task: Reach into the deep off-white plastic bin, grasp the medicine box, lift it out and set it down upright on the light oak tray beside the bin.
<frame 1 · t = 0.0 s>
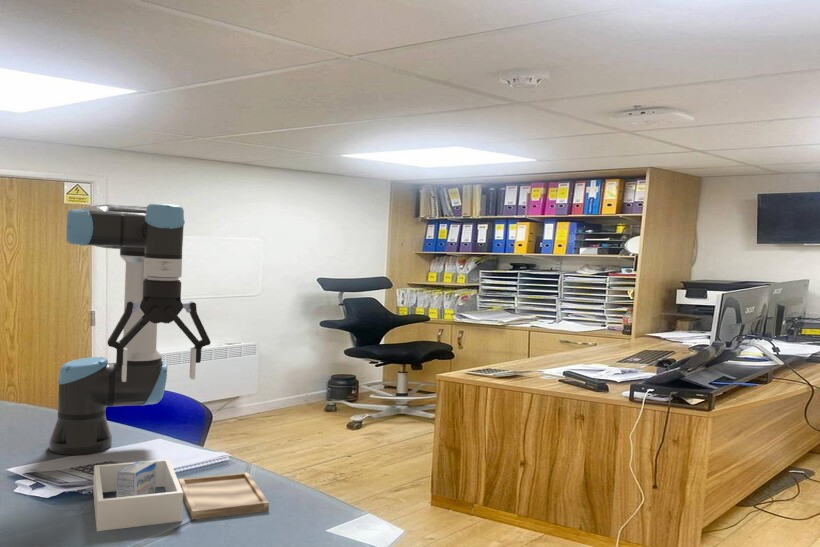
hand: (158, 379, 148), 28 cm above the table, fingers open, 13 cm apart
oak tray: (221, 498, 158), on the table
medicine box: (135, 507, 151), resting in deep bin
deep bin: (135, 505, 151), on the table
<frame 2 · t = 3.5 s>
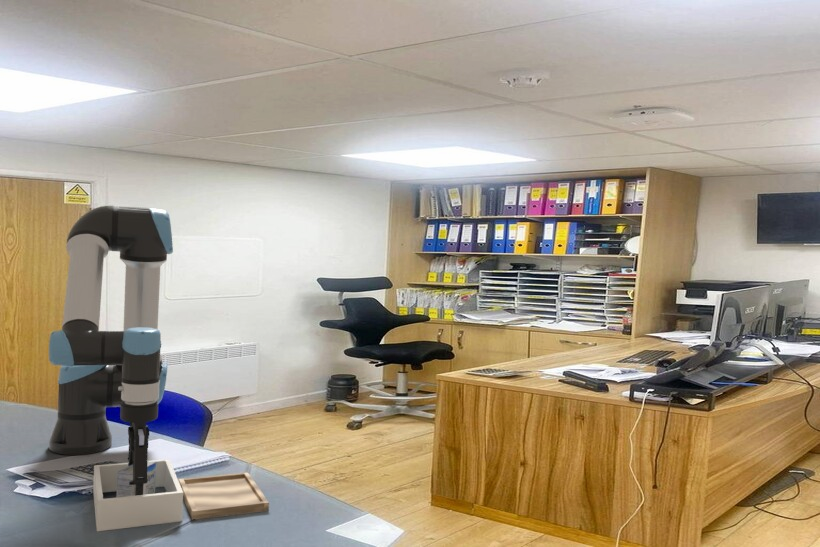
hand: (135, 505, 151), 0 cm above the table, fingers closed on medicine box, 9 cm apart
medicine box: (135, 507, 151), resting in deep bin, touching gripper
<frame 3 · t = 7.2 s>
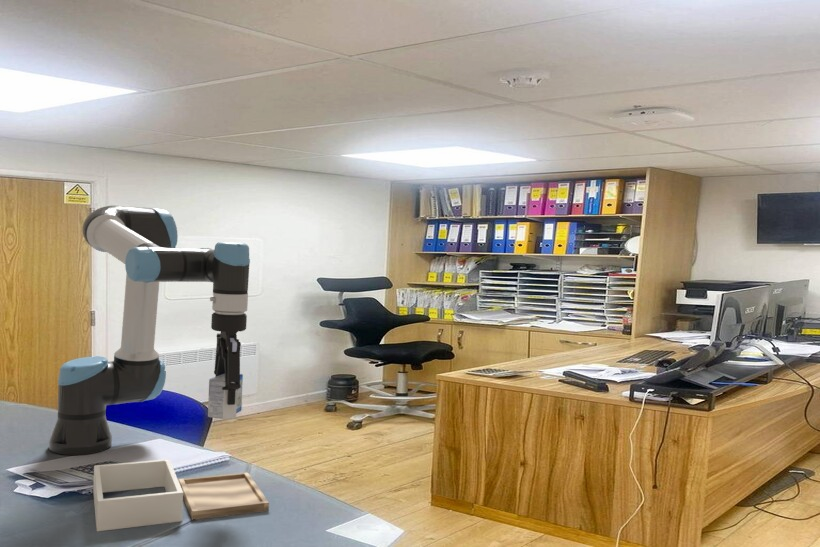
hand: (225, 413, 157), 19 cm above the table, fingers closed on medicine box, 9 cm apart
medicine box: (224, 415, 157), point 19 cm above the table, touching gripper
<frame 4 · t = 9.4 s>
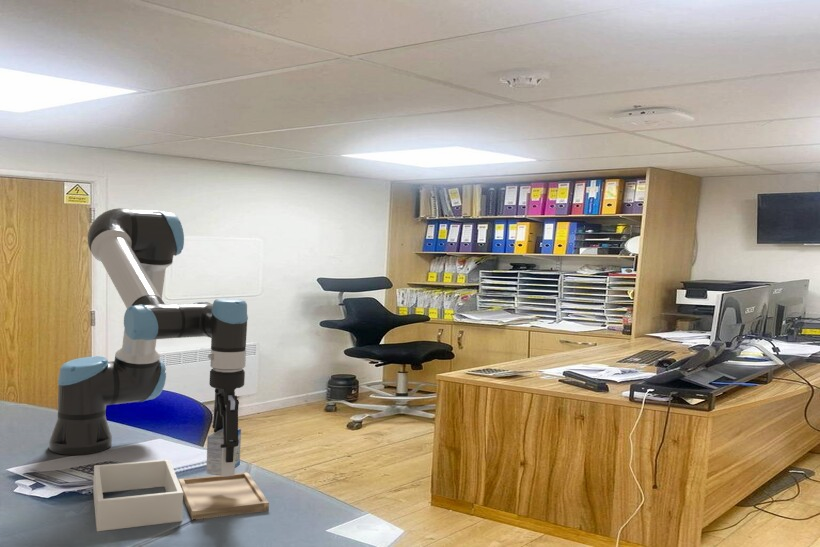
hand: (223, 468, 158), 7 cm above the table, fingers closed on medicine box, 9 cm apart
medicine box: (223, 470, 158), point 6 cm above the table, touching gripper
when the fingers open (2 cm above the table, at t = 10.8 s): medicine box drops 1 cm, resting on oak tray.
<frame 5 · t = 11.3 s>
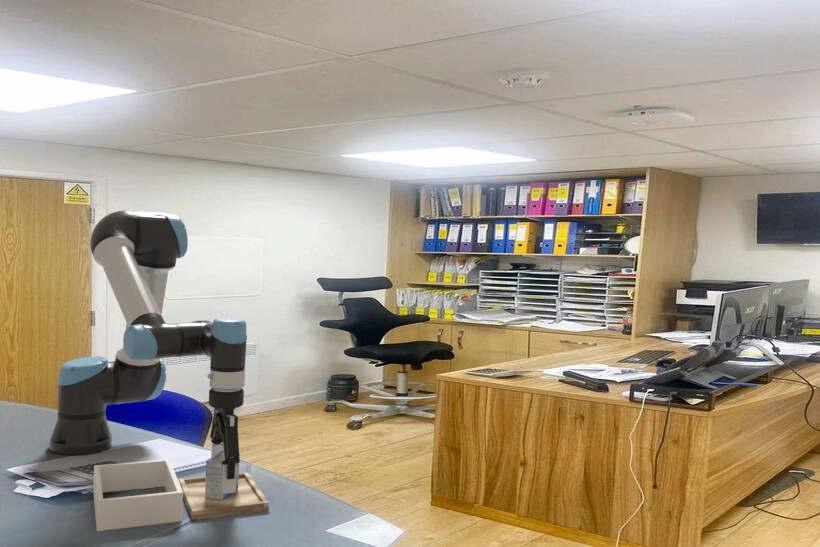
hand: (222, 482, 158), 4 cm above the table, fingers open, 13 cm apart
medicine box: (221, 494, 158), point 1 cm above the table, touching oak tray
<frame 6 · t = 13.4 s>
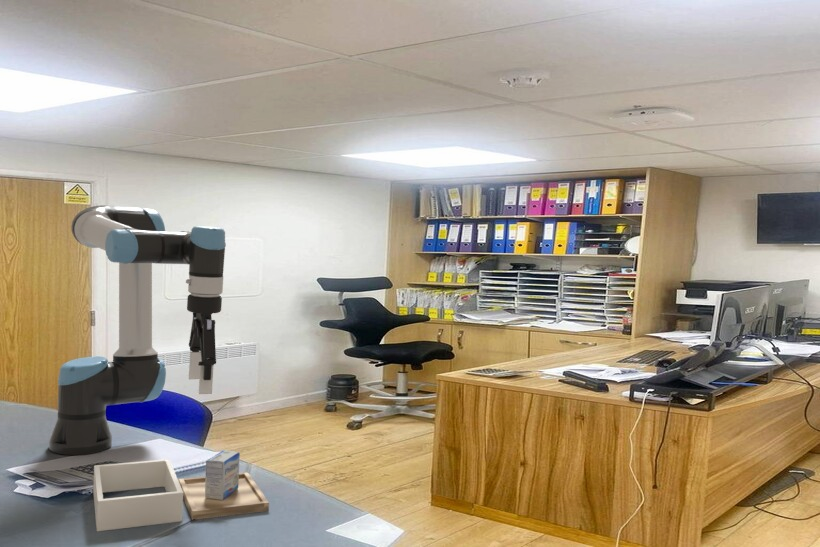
hand: (199, 386, 162), 24 cm above the table, fingers open, 13 cm apart
nothing on the table moved.
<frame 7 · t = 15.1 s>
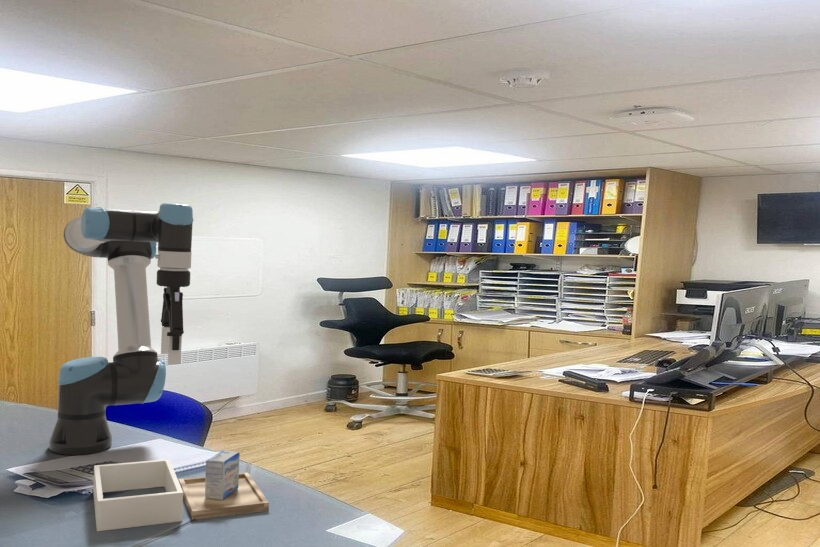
hand: (170, 358, 167), 29 cm above the table, fingers open, 13 cm apart
nothing on the table moved.
at the end: medicine box inside the target area on the oak tray (0.1 cm from its centre), point 0.8 cm above the oak tray's base; medicine box tilted 0°; the gripper is holding nothing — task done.
